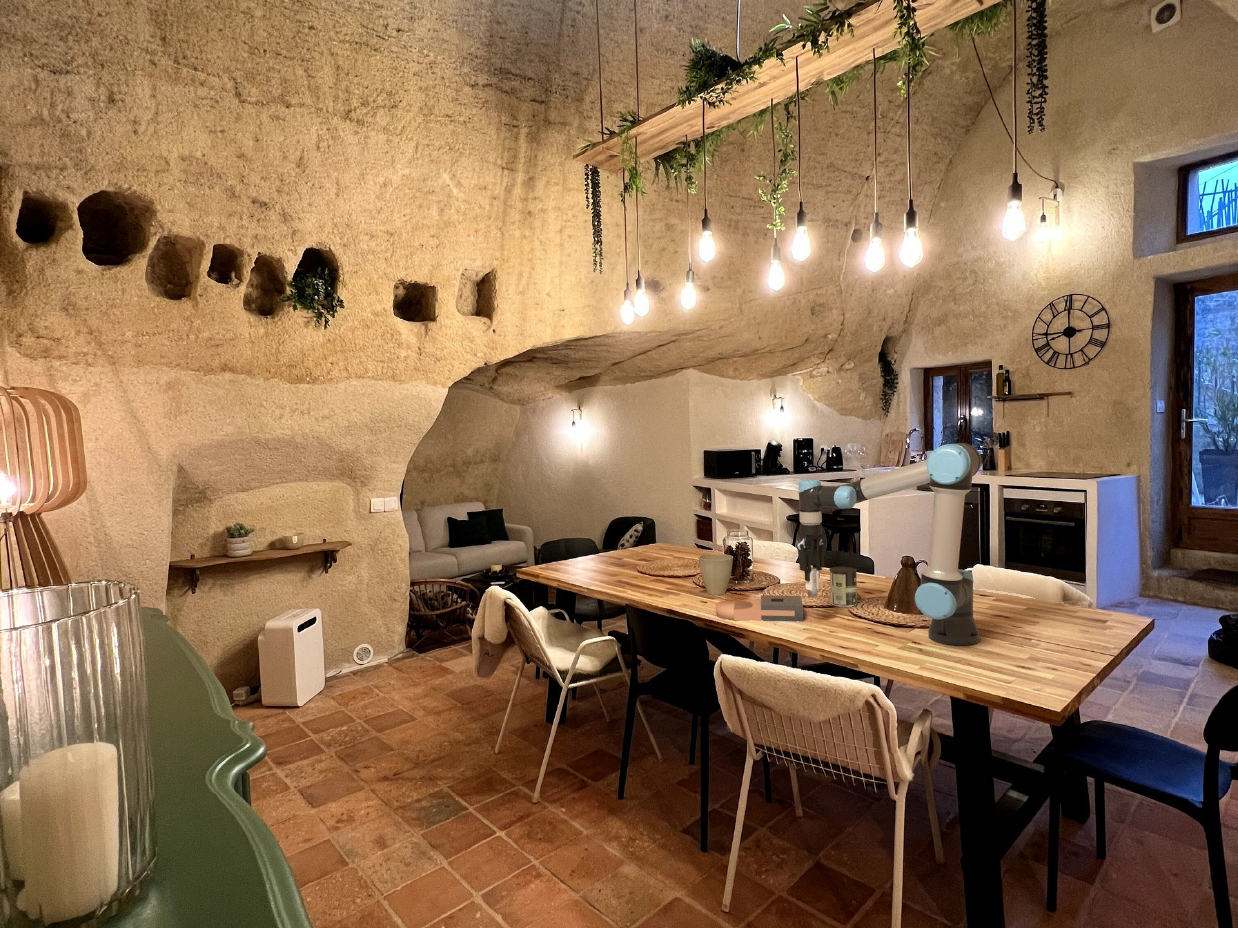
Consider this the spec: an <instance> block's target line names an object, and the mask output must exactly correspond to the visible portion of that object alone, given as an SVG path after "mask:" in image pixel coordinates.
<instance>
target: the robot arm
mask: <svg viewBox="0 0 1238 928" xmlns="http://www.w3.org/2000/svg"><path fill="white" fill-rule="evenodd" d="M981 466H982V457H981V453H980V452H979V451H978V449H977V448H976V447H974V446H973V445H972V444H969V443H965V442H957V443H947V444H943V445H941V446H938V447H937V448H935V449H934V450H933V451H932V452H931V453H930V454H929V456H928V458H927V459H924V460H922V461H917V462H914V463H911V464H908V465H905V466H901V467H898V468H894V469H892V470H888V471H886V472H882V473H878V474H876V475H875V474H874V475H872V476H869V477H866V478H862V479H859V480H855V481H852V482H848V483H843V484H839V485H822V484H821V481H820V479H814V478H813V479H810V478H809V479H801V480H800V481H799V482H798V492H797V494H798V503H799V504H798V506H799V509H798V511H799V522H800V524H799V533H800V534H799V535H800V536H801V540H800V542H799V543H795V547H796V549H797V557H798V562H799V563H798V565H799V570H800V571H802V572H803V573H804V581H805V590H807V591H808V590H811V591H812V590H813V572H811V568H816V574H817V590H820V578H821V577H820V571H823V568H824V567H825V550H826V545H827V540H826V539H822V537H821V535H822V534H823V527H822V526H823V525H822V521H823V518H822V508H833V509H836V508H837V509H841V510H843V509H852V508H854V506H855V505H857V504H859V503H862V502H865V501H866V502H867V501H868V500H871V499H876V498H879V497H883V496H887V495H890V494H894V493H898V492H901V491H903V490H908V489H912V488H915V487H919V486H922V485H927V484H929V488H930V489H931V490H932V491H933V501H932V502H933V503H932V515H931V524H930V534H929V545H928V557H927V567H925V568H924V569H923V570H922V571H921V575H920V576H921V577H920V584H919V586H918V587H917V589H916V591H915V594H914V603H915V606H916V607H917V609H918V610H919V611H920V612H921V613H922V614H923V615H924V616H926V617H927V618H930V619H931V622H930V624H929V626H928V630H927V631H928V635H927V636H928V638H929V639H930V640H931V641H934V642H937V643H940V644H945V645H951V646H954V645H955V646H972V645H976V644H979V642H980V632H979V629H978V626H977V623H976V621H975V618H974V579H973V578H974V577H973V573H972V572H971V571H969V570H966V569H959V561H960V549H961V539H962V529H963V518H964V509H965V508H964V507H965V500H966V499H965V498H966V495H967V494H968V493H969V492H970V491H972V483H973V477H974V476H975V475H977V473H979V471H980V469H981Z"/></svg>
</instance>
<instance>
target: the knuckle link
mask: <svg viewBox="0 0 1238 928" xmlns="http://www.w3.org/2000/svg"><path fill="white" fill-rule="evenodd" d="M715 613H716V615H715V616H716V617H717V618H719V619H723V620H726V619H728V620H727V621H750V620H757V621H756V622H759V621H760V622H762V621H761V615H766V616H795V611H784V610H761V599H760V600H758V599H757V600H754V599H751V600H749V599H748V600H747V599H727V600H722V601H718V602H717V603H716V604H715ZM758 620H759V621H758Z"/></svg>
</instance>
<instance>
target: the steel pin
mask: <svg viewBox="0 0 1238 928" xmlns="http://www.w3.org/2000/svg"><path fill="white" fill-rule="evenodd" d="M811 572H813V590H812V591H811V590H807V596H808V598H817V596H818V589H817V574H816V568H813V567H811Z"/></svg>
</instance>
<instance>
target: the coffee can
mask: <svg viewBox="0 0 1238 928" xmlns="http://www.w3.org/2000/svg"><path fill="white" fill-rule="evenodd" d="M857 570H858V569H857V568H855V567H850V566H833V567H829V583H830V584H829V585H830V586H829V588H830V589H829V590H830V592H829V593H830V594H829V595H830V605H831V604H832V606H833V605H834V607H838V608H853V607H852V606H853V605H856V604H857V605H858V586H857V585H858V584H857V582H858V581H857V577H858V576H857Z"/></svg>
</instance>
